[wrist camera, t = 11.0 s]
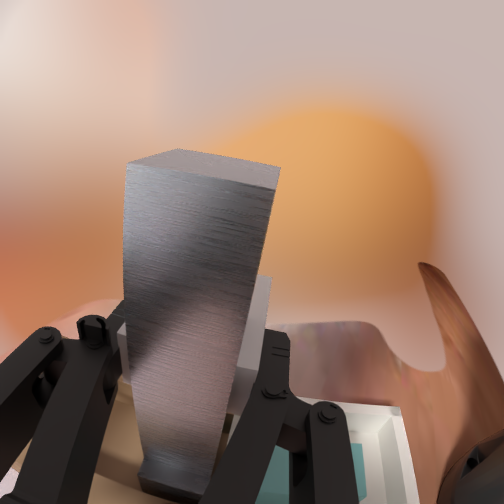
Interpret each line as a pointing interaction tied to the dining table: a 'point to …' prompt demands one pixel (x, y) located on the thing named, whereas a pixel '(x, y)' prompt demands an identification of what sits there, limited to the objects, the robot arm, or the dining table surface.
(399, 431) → the tray
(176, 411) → the brushed metal bar
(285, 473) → the teal block
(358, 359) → the dining table surface
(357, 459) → the teal cube
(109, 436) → the channel
